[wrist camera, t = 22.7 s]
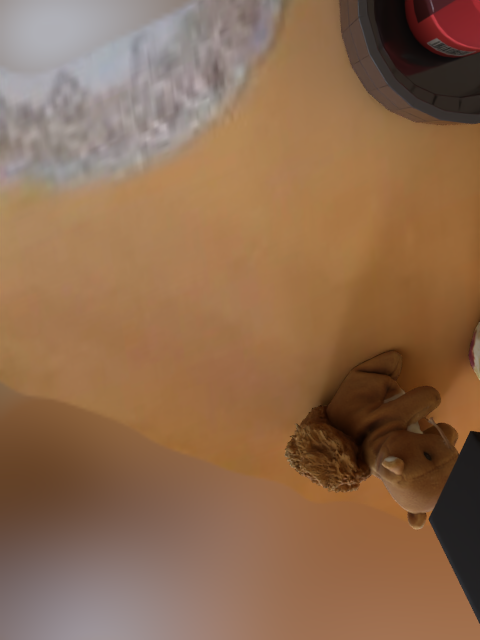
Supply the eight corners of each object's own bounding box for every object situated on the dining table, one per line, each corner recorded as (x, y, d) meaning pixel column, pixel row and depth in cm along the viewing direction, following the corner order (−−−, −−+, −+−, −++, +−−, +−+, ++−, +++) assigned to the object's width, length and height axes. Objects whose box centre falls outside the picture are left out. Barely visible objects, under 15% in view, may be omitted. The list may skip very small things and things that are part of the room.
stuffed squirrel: (436, 425, 45) (510, 534, 32) (301, 465, 47) (323, 582, 34) (414, 340, 41) (488, 427, 29) (269, 387, 43) (281, 488, 31)
